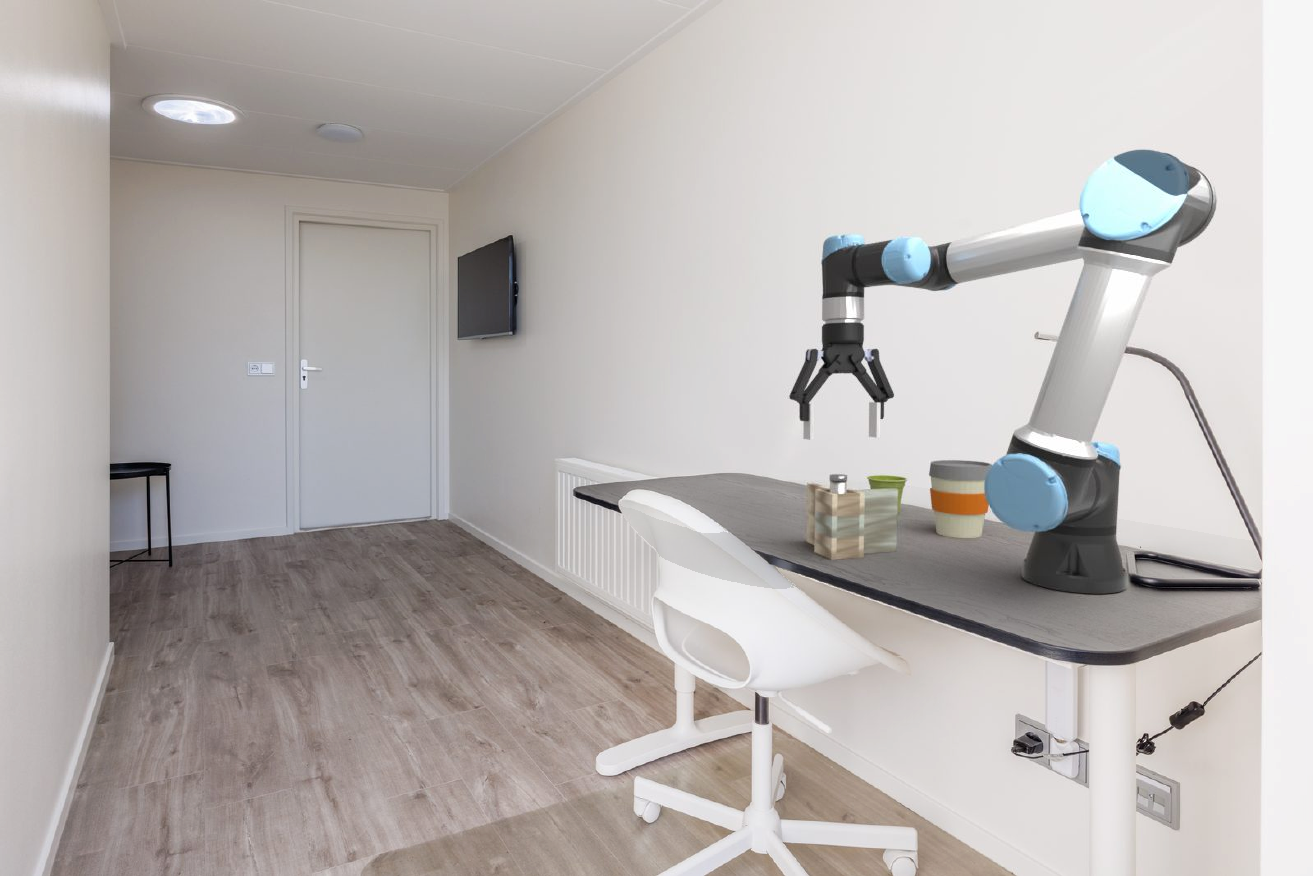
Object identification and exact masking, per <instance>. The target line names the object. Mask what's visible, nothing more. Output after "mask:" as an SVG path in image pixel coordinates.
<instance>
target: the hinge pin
mask: <svg viewBox="0 0 1313 876" xmlns="http://www.w3.org/2000/svg"><path fill="white" fill-rule="evenodd" d="M847 482H848V475H847V474H842V473H841V474H840V473H838V474H837V473H835V474H833V473H831V474H829V487H830V492H831V493H834V494H838V493H847V488H848V487H847V486H848V485H847V484H848V483H847Z"/></svg>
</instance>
